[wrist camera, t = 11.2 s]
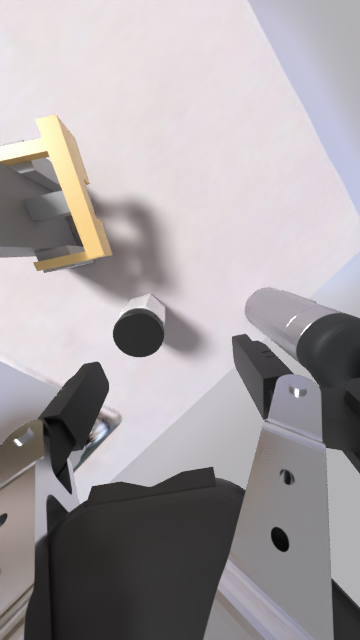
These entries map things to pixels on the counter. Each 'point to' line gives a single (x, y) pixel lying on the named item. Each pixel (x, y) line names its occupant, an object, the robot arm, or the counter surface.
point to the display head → (35, 213)
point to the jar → (140, 326)
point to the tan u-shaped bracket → (64, 186)
